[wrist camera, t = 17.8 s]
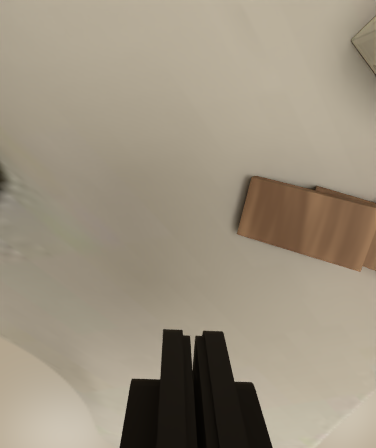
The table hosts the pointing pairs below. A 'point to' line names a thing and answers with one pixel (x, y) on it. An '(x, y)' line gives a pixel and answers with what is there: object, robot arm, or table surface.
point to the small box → (367, 43)
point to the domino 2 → (375, 253)
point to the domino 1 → (308, 222)
